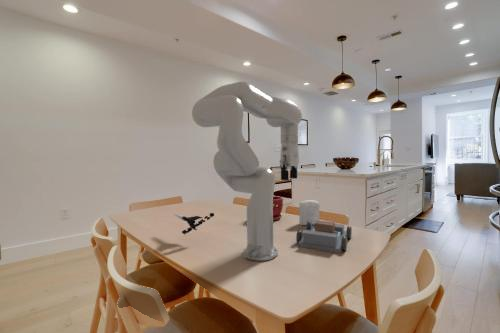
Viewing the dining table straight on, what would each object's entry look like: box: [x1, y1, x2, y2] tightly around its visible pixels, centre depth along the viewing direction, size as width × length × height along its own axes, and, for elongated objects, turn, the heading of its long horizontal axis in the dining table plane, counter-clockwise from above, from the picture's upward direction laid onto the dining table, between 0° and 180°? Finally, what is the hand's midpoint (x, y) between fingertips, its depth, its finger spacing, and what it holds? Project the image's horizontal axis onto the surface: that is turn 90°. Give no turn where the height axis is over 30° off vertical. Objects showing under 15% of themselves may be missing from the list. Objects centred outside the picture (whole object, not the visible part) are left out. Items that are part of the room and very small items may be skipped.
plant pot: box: [273, 195, 284, 221], centre depth 137 cm, size 13×13×12 cm
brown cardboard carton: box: [315, 219, 335, 234], centre depth 102 cm, size 4×7×6 cm, turn 61°
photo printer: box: [298, 199, 320, 226], centre depth 125 cm, size 10×4×12 cm, turn 98°
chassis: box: [295, 221, 353, 254], centre depth 102 cm, size 22×18×6 cm
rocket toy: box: [173, 212, 215, 235], centre depth 108 cm, size 14×6×23 cm
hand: (289, 179), depth 108 cm, fingers open, 9 cm apart
